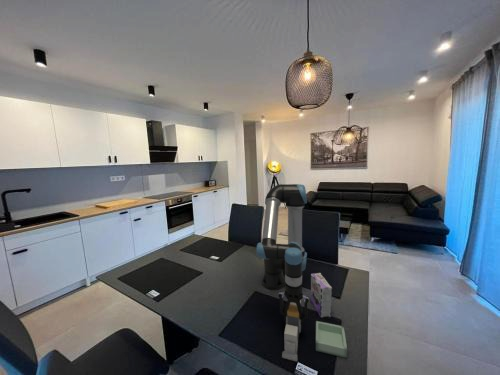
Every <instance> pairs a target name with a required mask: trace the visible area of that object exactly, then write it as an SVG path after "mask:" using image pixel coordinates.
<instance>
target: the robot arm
mask: <svg viewBox="0 0 500 375" xmlns="http://www.w3.org/2000/svg"><path fill="white" fill-rule="evenodd" d="M307 197H308V196H307V191H306V186H305V185H304V184H302V183H301V184H299V183H294V184H293V183H290V184H283V183H281V184H280V183H279V184H276V185H274V186H273V187H272V188H271V189H270V190H269V191H268V192H267V194H266V196H265V199H264V204H265V211H264V221H263V228H262V229H263V230H262V236H261V242H258V243H257V244H256V249H255V250H256V257H257V258H258V259H259V258H260V259H263V263H264V264H263V266H264V267H263V269H264V271H263V275H262V278H261V284H262V286H263V287H264V288H266V289H269V290H272V291H273V290H275V291H276V290H280V289H282V288H284V291H279V293H278V298H279V314H280V315H283V322H285V325H286V324H287V311H288V308H289V305H290V302H291V303H292V302H294V303H296V305H297V308H298V311H299V333H301V331H302V326H303V325H304V320H308V303H309V300H310V299H309V297H310V296H308V295H304V294H303V272H304V271H305V270H306V267H307V266H306V265H307V260H308V259H307V257H308V252H306V251H305V248H304V247H303V209H304V208H305V204H307V203H308V199H307ZM281 204H285V207H286V208H287V243H277V238H278V221H279V211H280V210H279V209H280V206H281ZM283 270H284V271H285V272H284V273H283ZM284 297H285V298H286V299H287V301H286V305H285V309H284ZM300 300H301V301H302V300H303V302H304V304H303V307H304V312H303V308H302V303H301V304H300Z"/></svg>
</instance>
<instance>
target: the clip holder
mask: <svg viewBox="0 0 500 375" xmlns="http://www.w3.org/2000/svg"><path fill="white" fill-rule="evenodd" d="M288 325H289V324H288ZM292 326H293V325H292ZM281 354H282V355H281V358H282V359H285V360H289V361H293V362H297V363H298V354H297V355H296V354H295V343H292V342H288V341H285V351H284V350H283V351H282V352H281Z"/></svg>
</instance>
